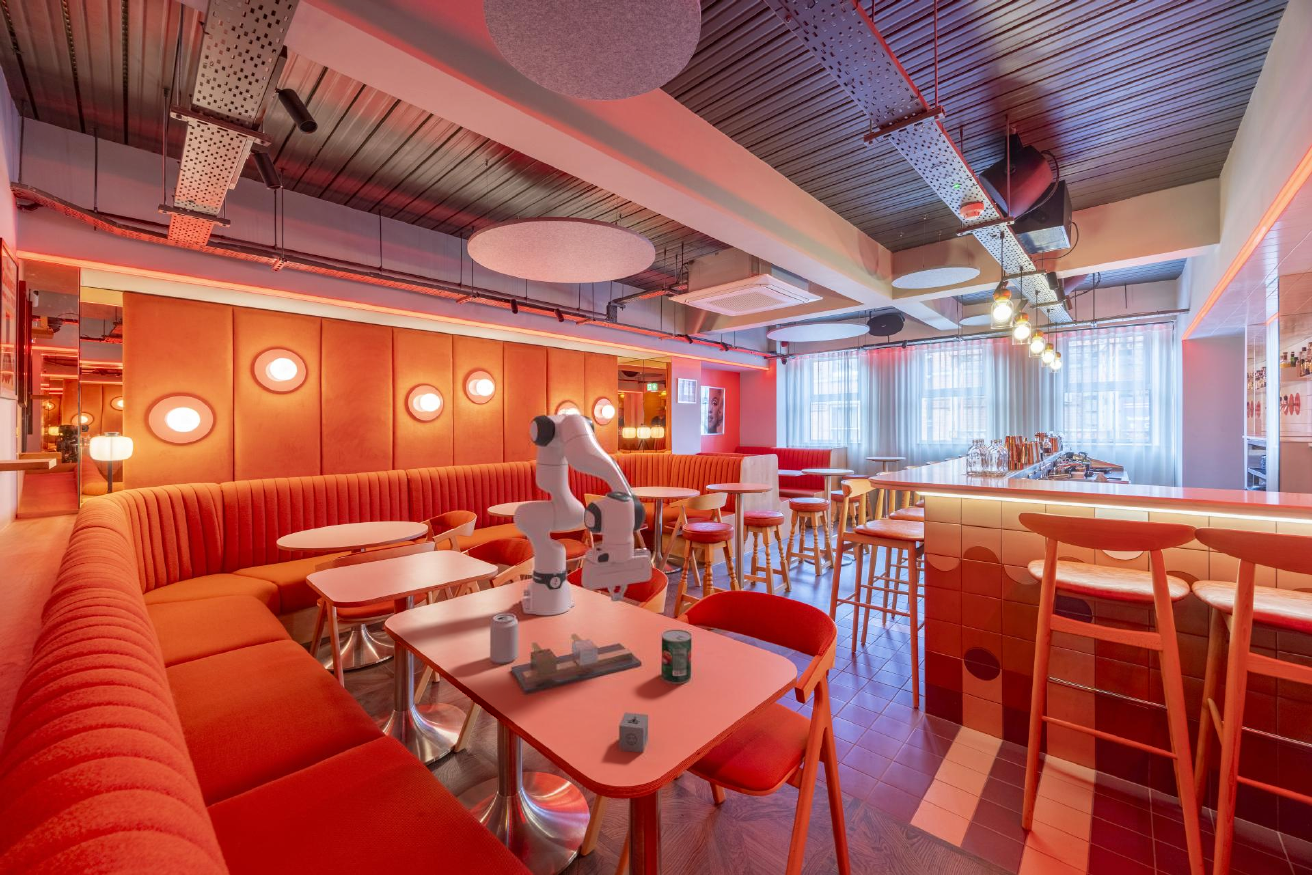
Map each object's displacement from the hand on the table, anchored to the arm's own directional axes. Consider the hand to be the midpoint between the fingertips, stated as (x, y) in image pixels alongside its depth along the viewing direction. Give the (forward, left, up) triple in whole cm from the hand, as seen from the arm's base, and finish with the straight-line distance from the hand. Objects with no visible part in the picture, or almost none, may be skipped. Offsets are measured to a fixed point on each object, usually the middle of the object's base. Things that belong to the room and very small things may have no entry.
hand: (617, 600), depth 142 cm
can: (-17, -27, -17) cm, 36 cm away
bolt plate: (-2, -11, -17) cm, 20 cm away
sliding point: (-2, -10, -16) cm, 19 cm away
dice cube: (+36, -13, -18) cm, 42 cm away
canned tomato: (+15, +10, -17) cm, 25 cm away
